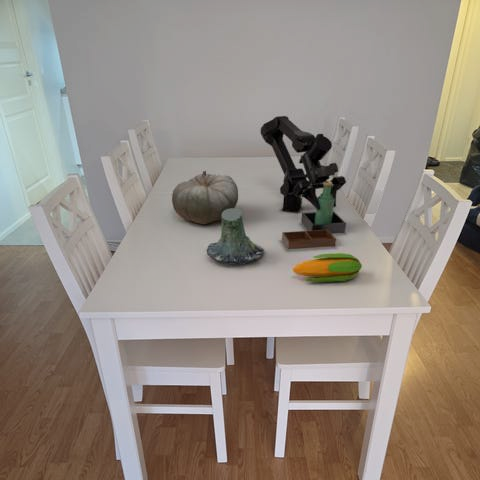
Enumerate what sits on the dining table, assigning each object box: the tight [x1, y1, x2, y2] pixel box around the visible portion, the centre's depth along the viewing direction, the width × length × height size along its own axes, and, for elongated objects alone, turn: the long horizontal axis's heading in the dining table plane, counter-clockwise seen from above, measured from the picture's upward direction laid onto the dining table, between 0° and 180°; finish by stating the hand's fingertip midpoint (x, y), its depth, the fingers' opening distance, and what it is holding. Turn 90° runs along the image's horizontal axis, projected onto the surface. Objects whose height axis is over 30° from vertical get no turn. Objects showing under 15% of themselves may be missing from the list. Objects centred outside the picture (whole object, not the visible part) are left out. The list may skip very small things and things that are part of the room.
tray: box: [300, 210, 347, 235], centre depth 161 cm, size 12×12×4 cm
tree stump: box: [206, 207, 265, 266], centre depth 139 cm, size 18×20×18 cm
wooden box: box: [281, 230, 337, 250], centre depth 150 cm, size 8×16×3 cm, turn 100°
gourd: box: [171, 170, 239, 225], centre depth 166 cm, size 25×25×17 cm
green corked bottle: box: [314, 180, 335, 224], centre depth 158 cm, size 6×6×16 cm
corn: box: [292, 252, 363, 283], centre depth 128 cm, size 7×8×20 cm
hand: (327, 208), depth 157 cm, fingers closed on green corked bottle, 6 cm apart
